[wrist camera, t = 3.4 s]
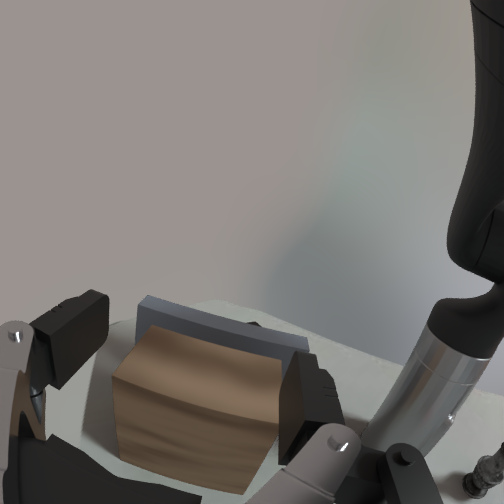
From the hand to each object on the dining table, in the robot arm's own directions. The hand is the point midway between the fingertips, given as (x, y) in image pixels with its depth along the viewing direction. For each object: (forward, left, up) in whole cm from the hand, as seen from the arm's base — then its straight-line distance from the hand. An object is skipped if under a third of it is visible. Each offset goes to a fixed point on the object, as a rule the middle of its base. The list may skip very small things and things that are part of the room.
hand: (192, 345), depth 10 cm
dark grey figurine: (-24, -29, -20) cm, 43 cm away
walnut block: (+6, -6, -20) cm, 22 cm away
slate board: (+14, -14, -20) cm, 28 cm away
